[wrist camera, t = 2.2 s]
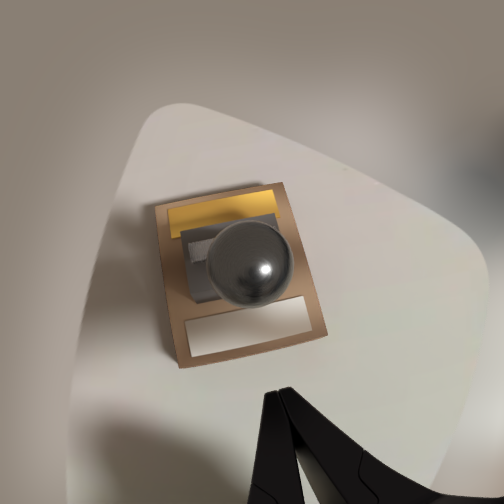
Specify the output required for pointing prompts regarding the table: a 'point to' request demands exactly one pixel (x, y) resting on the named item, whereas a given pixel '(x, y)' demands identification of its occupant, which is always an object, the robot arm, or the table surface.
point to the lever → (246, 263)
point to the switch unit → (209, 302)
